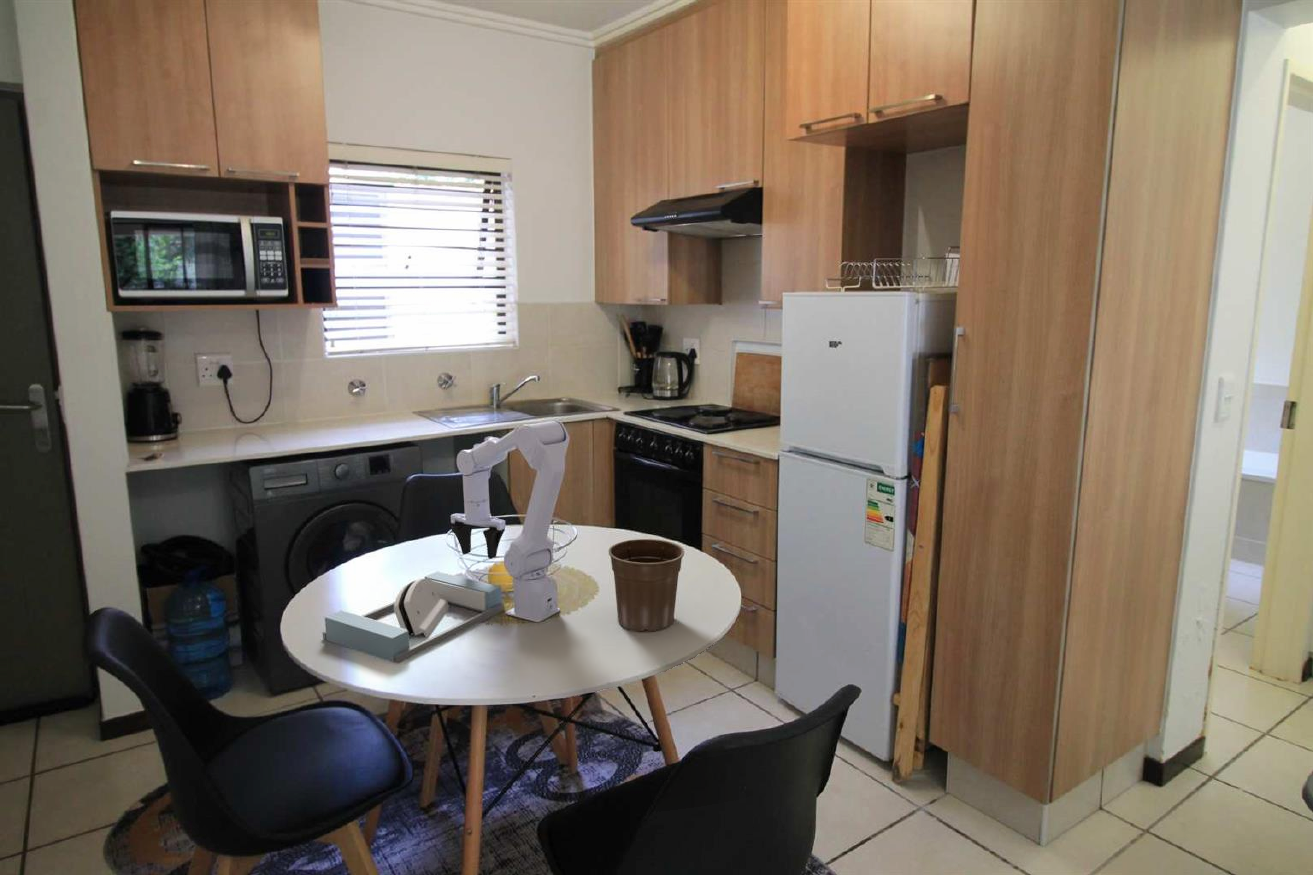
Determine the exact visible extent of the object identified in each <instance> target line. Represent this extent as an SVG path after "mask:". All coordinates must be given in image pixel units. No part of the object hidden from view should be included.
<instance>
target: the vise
mask: <svg viewBox="0 0 1313 875" xmlns="http://www.w3.org/2000/svg"><path fill="white" fill-rule="evenodd" d="M394 604H395V601H394V602H391V603H389V604H387V605H384V606H382V607H379V608H377V609H374V610H372V611H369V612H368V613H365V614H362V615H360V614H355V613H352V612H349V611H344V610H339V611H337V612H334V613H331V614H329V615H326V616H325V617H324V626H325V630H324V631H322V638H323V639H322V640H325V639H326V641H329V642H331V643H334V642H335V643H334V644H338V645H341V646H343V647H347V648H349V649H352V650H356V651H358V652H362V653H365V654H367V655H370V656H373V657H376V658H379V659H383V660H385V661H387V662H391V663H395V664H400V663H403V662H404V661H406V660H408V659H411V658H412V657H414V656H416V655H418V654H420V653H422V652H424V651H426V650H428V649H430V648H432V647H434V646H436V645H438V644H440V643H441V642H444V641H446V640H448V639H450V638H452V637H454V636H456V635H457V634H460V633H462V632H464V631H466V630H468V629H470V628H471V627H473V626H475V625H478V624H480V623H482V622H484V621H486V620H487V619H490V618H491V617H493V616H495V615H497V614H499V613H501V612H504V611H505V603H503V602H502V603H501V604H498V605H496V606H494V607H492V608H490V609H488V610H486V611H484V612H481V613H479V614H476V615H474V616H473V617H470V618H468V619H466V620H463V621H462V622H459V623H458V624H456V625H454V626H452V627H450V628H448V629H445V630H444V631H442V632H440V633H438V634H436V635H434V636H430V637H429V638H426V639H425V640H423V641H421V642H420V643H416V644H415V645H413V646H411V647H410V637H409V632H408V630H406V629H403V628H400V626H396V625H393V624H389V623H387V622H383V621H378V620H376V619H377V618H379V617H382V616H384V615H388V614H389V613H392V612H395V611H394Z"/></svg>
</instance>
